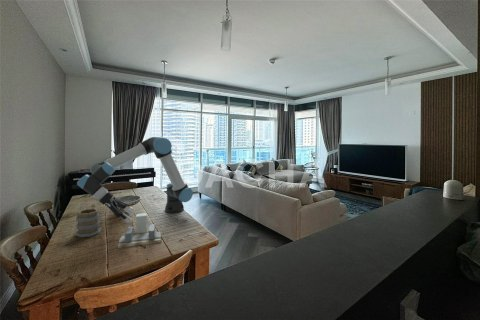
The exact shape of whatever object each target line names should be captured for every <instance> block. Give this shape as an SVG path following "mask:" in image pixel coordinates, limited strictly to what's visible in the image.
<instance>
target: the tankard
mask: <svg viewBox="0 0 480 320" xmlns="http://www.w3.org/2000/svg"><path fill="white" fill-rule="evenodd" d="M76 214H77V215H76V217H75V220H76V221H77V224H76V229H77V231H75V236H77V237H79V238H87V237H92V236H95V235H98V234H100V233H101V232H102V230H103V229H102V227H101V226H100V225H101V220H100V219H99V218H100V217H101V213H100V212H99V209H97V208H96V204H94V203H92V205H91V207H90V208H86V209H82V210H79V211H78V212H77V213H76Z"/></svg>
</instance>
